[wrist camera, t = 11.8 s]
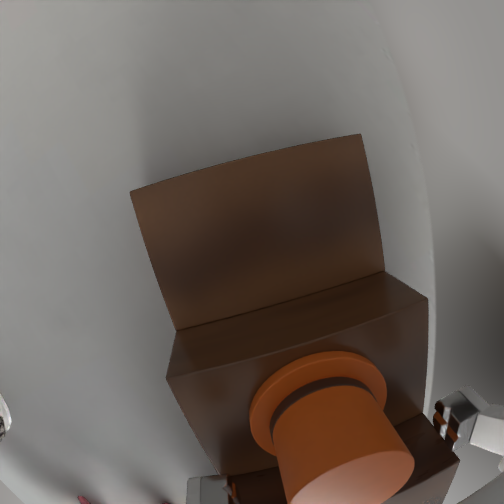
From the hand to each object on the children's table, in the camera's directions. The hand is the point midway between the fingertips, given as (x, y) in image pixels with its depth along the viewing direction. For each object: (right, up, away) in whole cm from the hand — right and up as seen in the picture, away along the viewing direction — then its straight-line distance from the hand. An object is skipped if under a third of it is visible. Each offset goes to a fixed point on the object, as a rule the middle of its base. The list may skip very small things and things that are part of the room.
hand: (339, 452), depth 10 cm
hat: (0, +1, +3) cm, 3 cm away
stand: (-1, +2, +10) cm, 10 cm away
